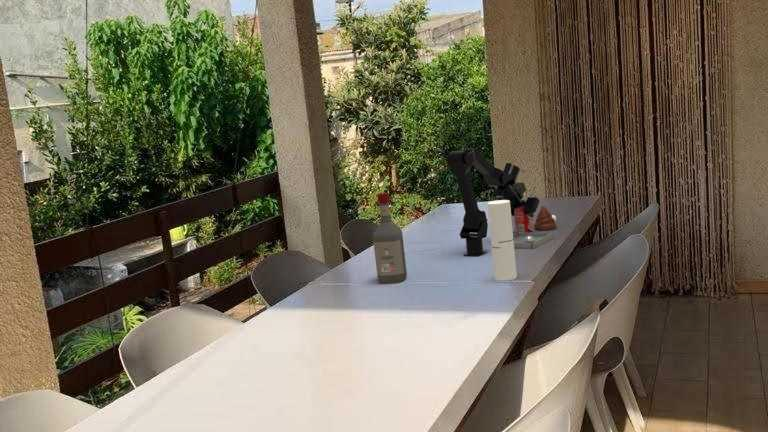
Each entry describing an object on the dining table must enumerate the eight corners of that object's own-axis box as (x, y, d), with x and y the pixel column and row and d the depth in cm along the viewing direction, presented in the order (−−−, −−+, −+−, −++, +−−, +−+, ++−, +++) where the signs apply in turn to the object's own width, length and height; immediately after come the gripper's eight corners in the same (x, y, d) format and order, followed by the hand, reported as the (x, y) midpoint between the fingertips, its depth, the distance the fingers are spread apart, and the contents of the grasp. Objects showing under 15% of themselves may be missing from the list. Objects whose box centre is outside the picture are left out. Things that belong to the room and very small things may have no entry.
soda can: (532, 231, 344) (530, 201, 342) (534, 234, 337) (531, 204, 335) (515, 232, 345) (512, 203, 343) (516, 235, 338) (513, 206, 336)
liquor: (403, 282, 286) (393, 194, 281) (377, 284, 288) (366, 196, 283) (408, 275, 294) (398, 190, 290) (382, 277, 296) (372, 192, 292)
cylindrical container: (516, 280, 272) (509, 203, 268) (493, 281, 274) (486, 204, 270) (517, 274, 279) (510, 199, 275) (495, 275, 280) (488, 201, 276)
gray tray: (532, 248, 314) (532, 243, 313) (494, 247, 323) (494, 242, 323) (553, 238, 328) (553, 233, 328) (516, 237, 337) (516, 232, 337)
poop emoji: (529, 229, 351) (527, 207, 349) (546, 225, 354) (545, 203, 353) (544, 232, 342) (542, 209, 340) (561, 228, 345) (559, 205, 344)
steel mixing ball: (531, 246, 316) (531, 236, 315) (523, 245, 318) (522, 236, 317) (536, 243, 318) (535, 234, 318) (527, 243, 321) (526, 234, 320)
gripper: (535, 176, 328) (551, 200, 338) (494, 177, 341) (511, 199, 350) (525, 200, 324) (543, 223, 333) (485, 199, 336) (502, 222, 346)
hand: (525, 216), depth 341 cm, fingers closed on soda can, 7 cm apart
